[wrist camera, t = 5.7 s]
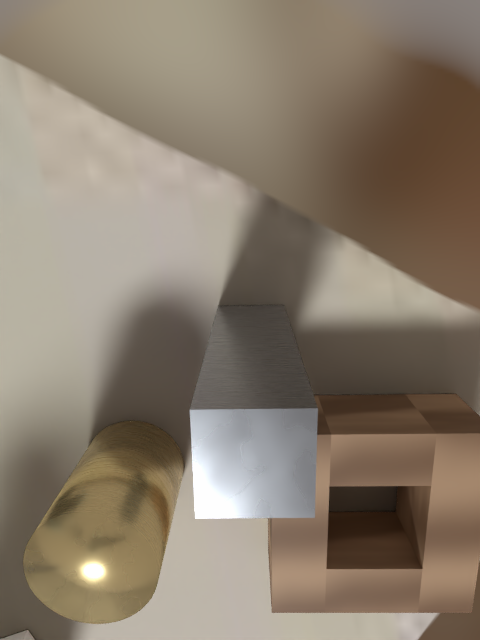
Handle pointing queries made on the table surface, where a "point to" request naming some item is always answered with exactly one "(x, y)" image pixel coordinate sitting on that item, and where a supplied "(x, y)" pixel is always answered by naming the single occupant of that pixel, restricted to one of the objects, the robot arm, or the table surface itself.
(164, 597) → the table surface
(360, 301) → the table surface
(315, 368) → the table surface
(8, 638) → the milk
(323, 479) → the socket block
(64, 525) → the round bit
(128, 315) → the table surface
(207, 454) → the square bit
